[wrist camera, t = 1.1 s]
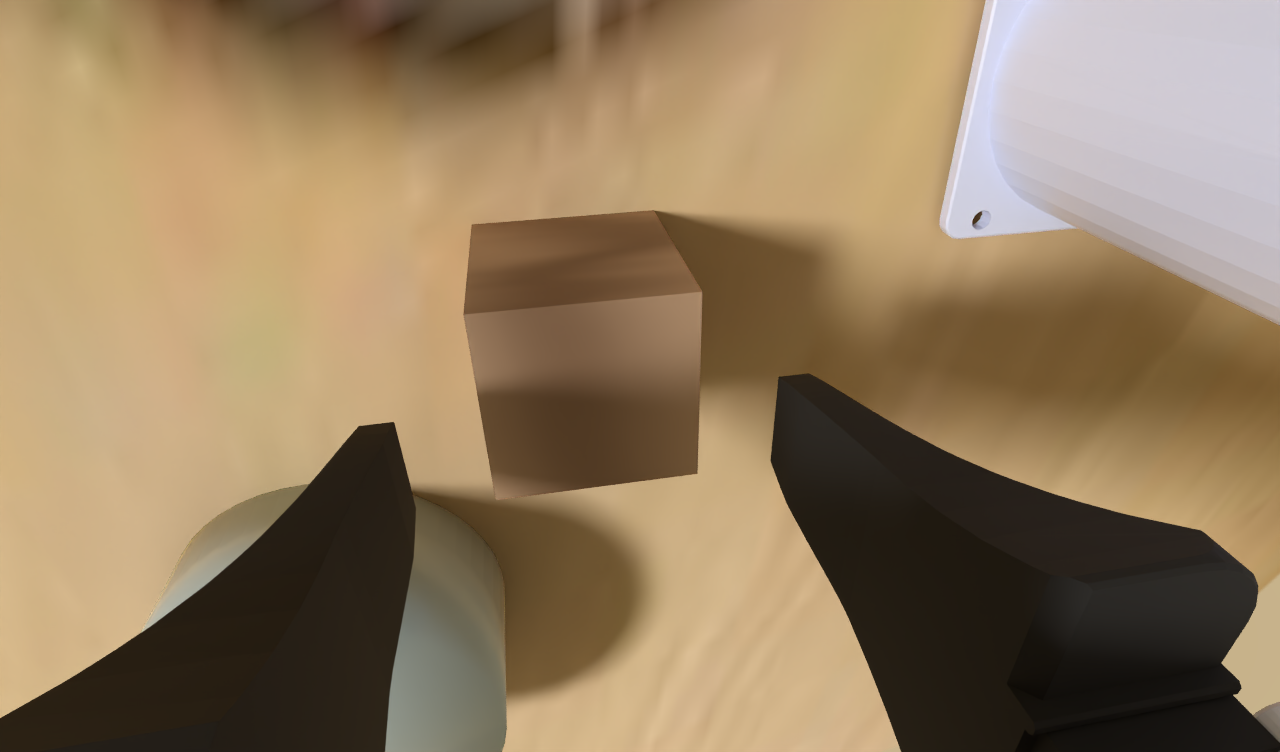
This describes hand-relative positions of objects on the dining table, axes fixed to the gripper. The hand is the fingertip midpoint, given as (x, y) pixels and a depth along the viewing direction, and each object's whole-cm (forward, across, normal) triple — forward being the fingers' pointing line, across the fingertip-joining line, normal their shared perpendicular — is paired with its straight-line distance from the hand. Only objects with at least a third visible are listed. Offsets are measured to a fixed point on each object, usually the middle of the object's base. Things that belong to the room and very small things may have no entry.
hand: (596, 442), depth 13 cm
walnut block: (+6, 0, 0) cm, 6 cm away
